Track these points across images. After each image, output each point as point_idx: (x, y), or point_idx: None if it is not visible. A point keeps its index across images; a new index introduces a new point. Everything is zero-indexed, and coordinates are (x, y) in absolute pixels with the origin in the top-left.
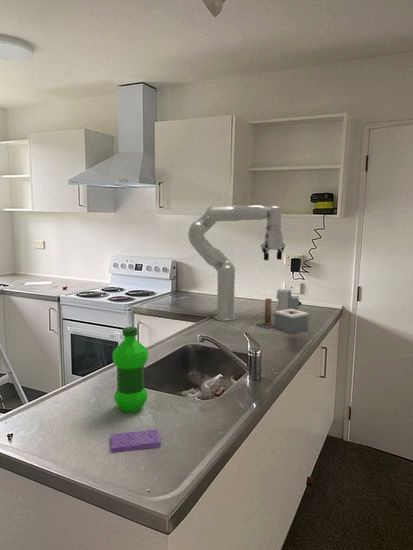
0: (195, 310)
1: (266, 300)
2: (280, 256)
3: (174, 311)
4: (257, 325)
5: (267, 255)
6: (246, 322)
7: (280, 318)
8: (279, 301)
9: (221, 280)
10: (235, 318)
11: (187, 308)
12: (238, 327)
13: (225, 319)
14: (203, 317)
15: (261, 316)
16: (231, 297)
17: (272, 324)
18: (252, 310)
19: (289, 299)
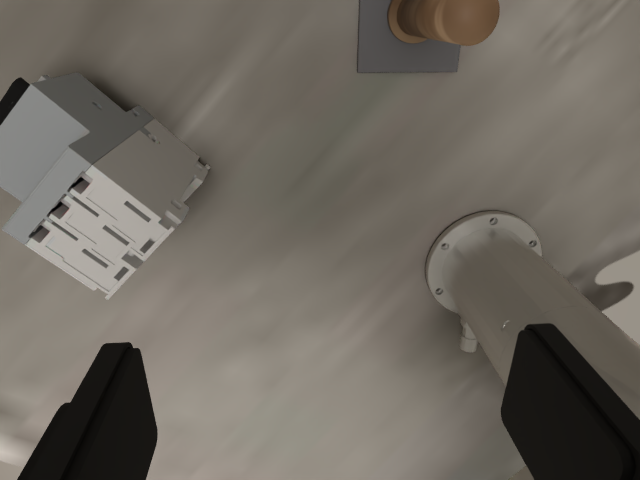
0: (479, 429)
1: (494, 11)
2: (115, 396)
3: None
4: (457, 53)
5: (620, 413)
6: (454, 145)
7: None
8: (176, 186)
9: None
10: (464, 220)
11: (481, 466)
12: (568, 80)
13: (526, 223)
14: None
15: (288, 208)
16: (547, 288)
17: (381, 3)
18: (244, 330)
19: (105, 138)
